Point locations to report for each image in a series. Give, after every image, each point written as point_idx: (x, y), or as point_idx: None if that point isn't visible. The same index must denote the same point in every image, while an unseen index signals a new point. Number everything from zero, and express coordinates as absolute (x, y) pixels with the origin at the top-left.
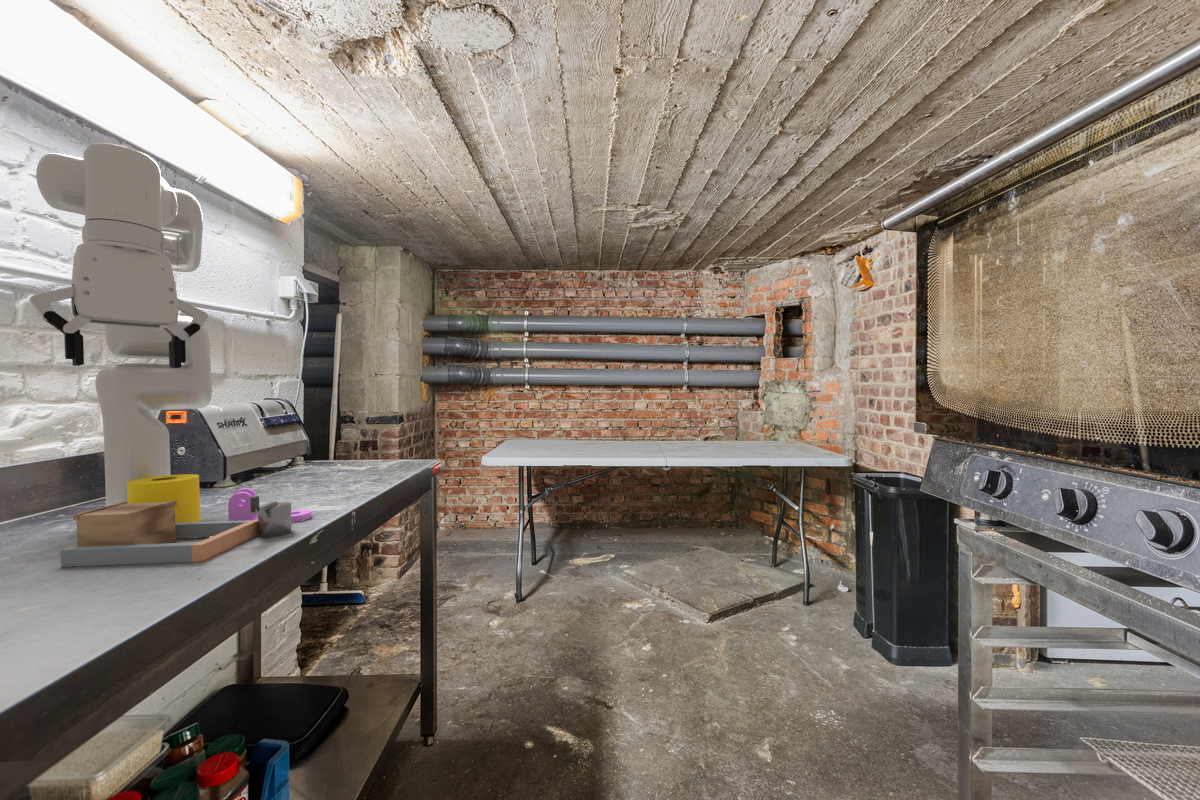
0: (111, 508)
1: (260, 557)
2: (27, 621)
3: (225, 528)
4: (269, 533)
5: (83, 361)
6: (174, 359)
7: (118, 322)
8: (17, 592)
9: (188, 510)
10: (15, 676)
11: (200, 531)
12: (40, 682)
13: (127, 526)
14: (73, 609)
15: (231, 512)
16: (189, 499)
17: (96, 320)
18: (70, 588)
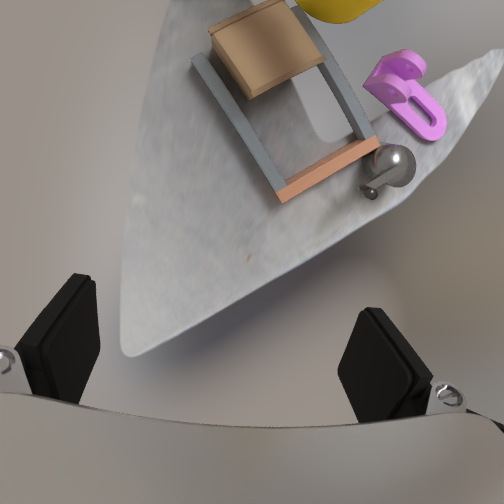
0: (255, 20)
1: (313, 245)
2: (132, 238)
3: (349, 114)
4: (368, 173)
5: (97, 355)
6: (345, 386)
7: (223, 441)
8: (142, 131)
9: (353, 15)
10: (122, 335)
11: (331, 84)
12: (130, 353)
13: (248, 90)
14: (159, 241)
15: (377, 86)
16: (362, 10)
17: (73, 419)
18: (172, 166)
